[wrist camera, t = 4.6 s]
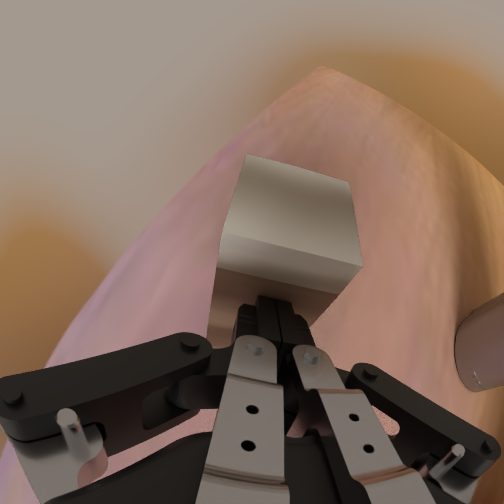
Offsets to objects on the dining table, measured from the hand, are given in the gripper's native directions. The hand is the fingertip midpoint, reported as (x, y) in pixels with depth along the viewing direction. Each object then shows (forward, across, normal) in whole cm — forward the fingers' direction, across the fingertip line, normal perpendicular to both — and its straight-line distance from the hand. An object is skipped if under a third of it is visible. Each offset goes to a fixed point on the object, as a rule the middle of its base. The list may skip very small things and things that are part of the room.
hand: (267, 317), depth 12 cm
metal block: (+7, 0, +4) cm, 8 cm away
